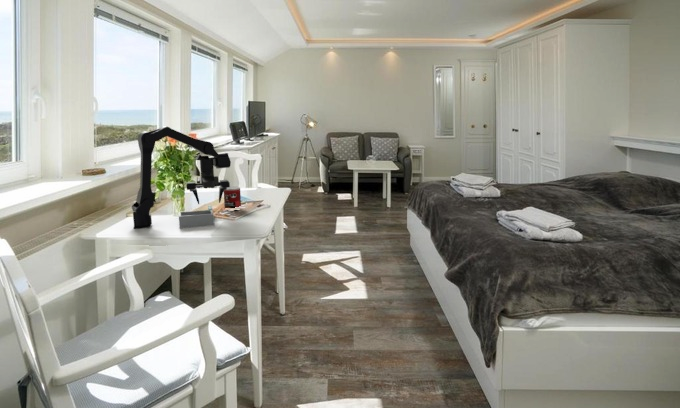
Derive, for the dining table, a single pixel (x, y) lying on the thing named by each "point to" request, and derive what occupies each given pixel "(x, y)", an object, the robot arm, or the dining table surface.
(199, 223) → the tub
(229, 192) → the canned food
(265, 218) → the dining table surface
